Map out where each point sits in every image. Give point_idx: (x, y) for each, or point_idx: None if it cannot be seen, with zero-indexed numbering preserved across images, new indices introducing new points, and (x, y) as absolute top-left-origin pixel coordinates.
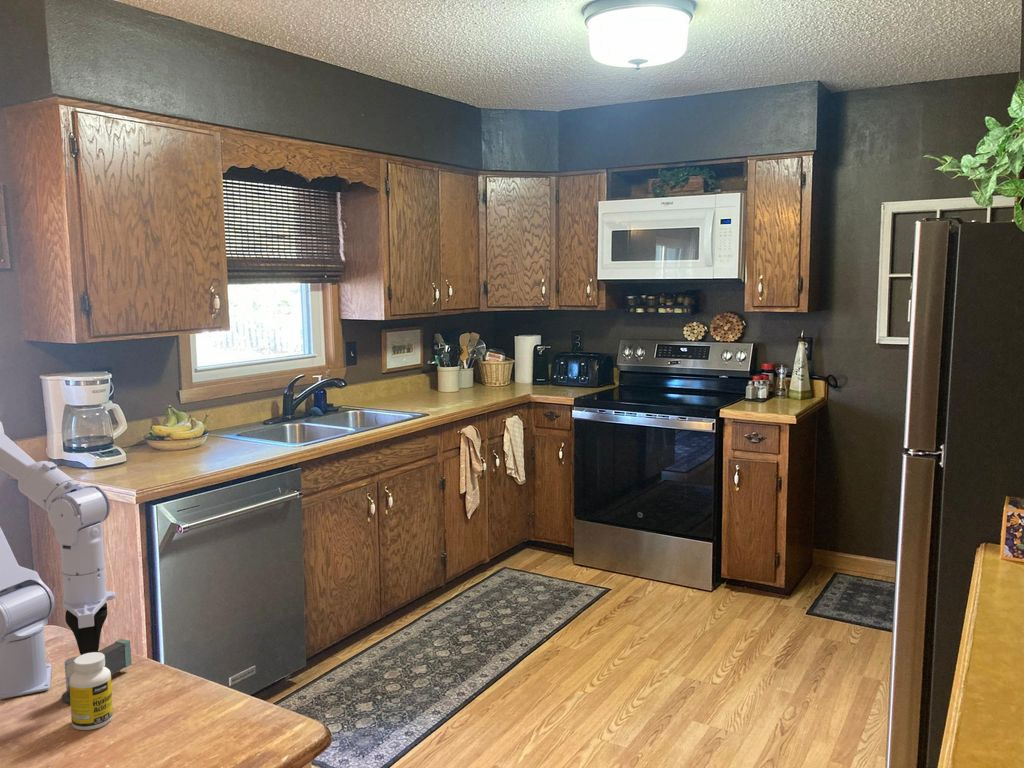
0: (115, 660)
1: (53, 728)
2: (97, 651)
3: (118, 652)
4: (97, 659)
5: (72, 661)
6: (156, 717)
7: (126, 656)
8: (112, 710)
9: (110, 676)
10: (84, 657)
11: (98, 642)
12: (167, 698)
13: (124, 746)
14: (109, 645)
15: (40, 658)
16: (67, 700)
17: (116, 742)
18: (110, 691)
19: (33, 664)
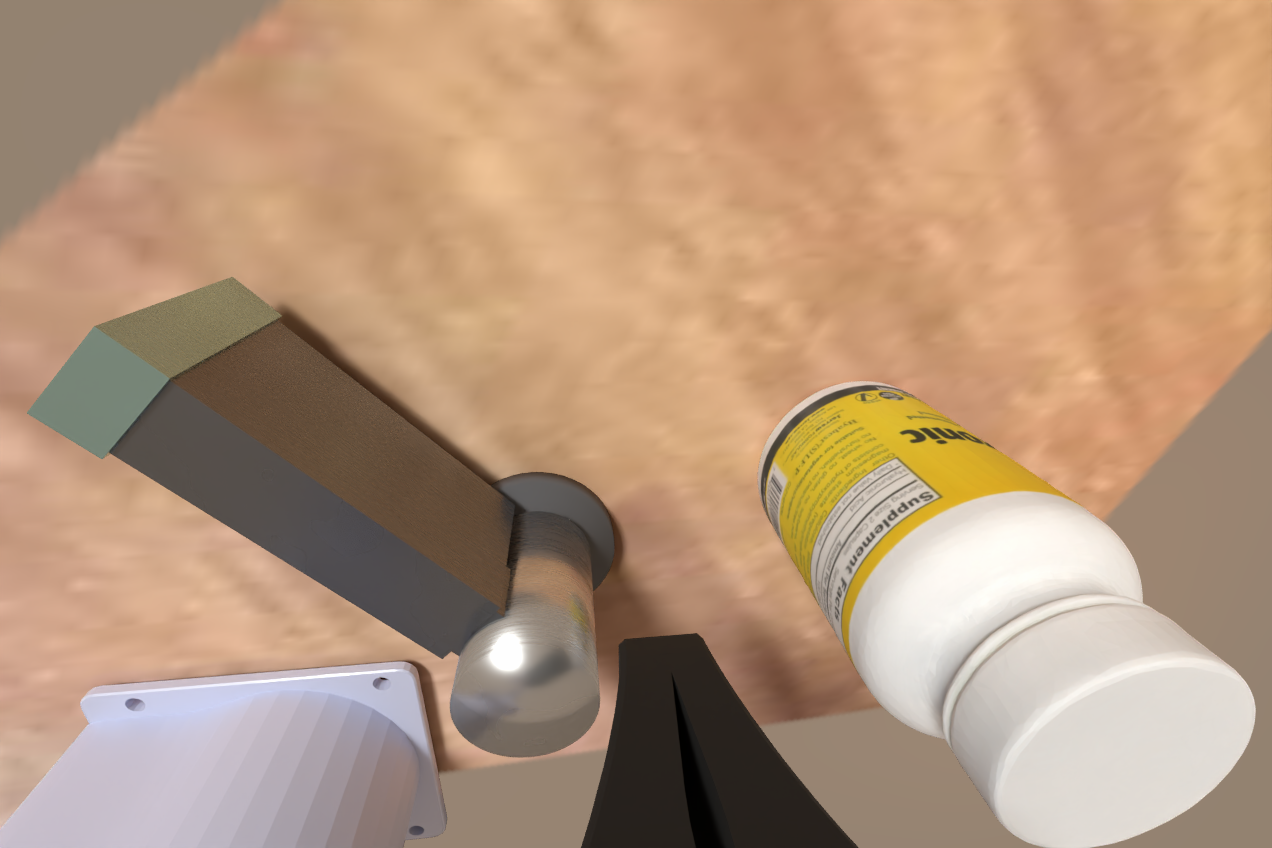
0: (318, 410)
1: (805, 600)
2: (709, 657)
3: (264, 407)
4: (1217, 706)
5: (534, 720)
6: (1001, 148)
7: (230, 329)
8: (895, 393)
9: (1052, 498)
10: (1082, 797)
11: (761, 730)
12: (800, 53)
13: (1168, 324)
14: (179, 495)
15: (297, 838)
16: (597, 585)
17: (1106, 358)
18: (992, 451)
19: (350, 842)
